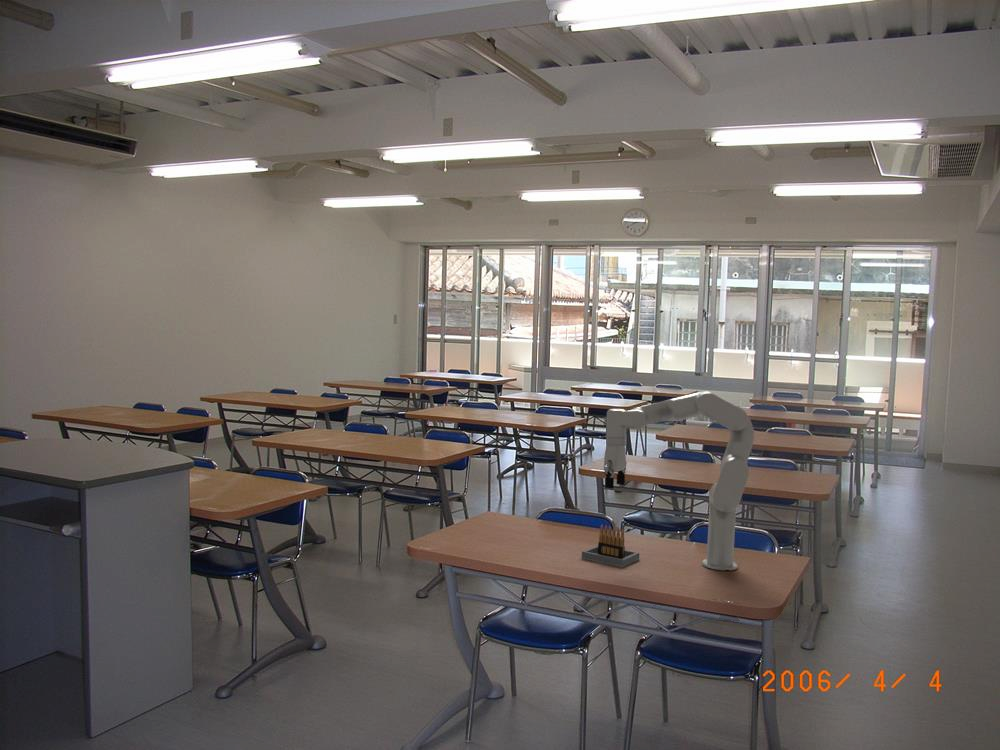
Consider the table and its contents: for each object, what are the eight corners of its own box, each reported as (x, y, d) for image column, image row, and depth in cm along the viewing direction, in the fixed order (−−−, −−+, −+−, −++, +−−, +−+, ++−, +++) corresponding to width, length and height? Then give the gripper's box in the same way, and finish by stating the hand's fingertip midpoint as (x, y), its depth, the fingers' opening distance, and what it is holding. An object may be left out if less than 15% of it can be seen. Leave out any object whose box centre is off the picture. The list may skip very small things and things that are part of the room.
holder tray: (599, 551, 307) (599, 544, 307) (639, 559, 297) (639, 552, 297) (581, 558, 295) (581, 551, 295) (622, 567, 285) (622, 560, 285)
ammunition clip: (597, 555, 298) (598, 523, 298) (599, 554, 300) (601, 523, 299) (622, 560, 292) (623, 528, 292) (624, 559, 294) (626, 528, 293)
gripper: (617, 438, 307) (616, 482, 307) (596, 442, 292) (595, 488, 293) (634, 440, 302) (633, 484, 303) (615, 444, 288) (614, 490, 289)
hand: (615, 486), depth 298 cm, fingers open, 9 cm apart
